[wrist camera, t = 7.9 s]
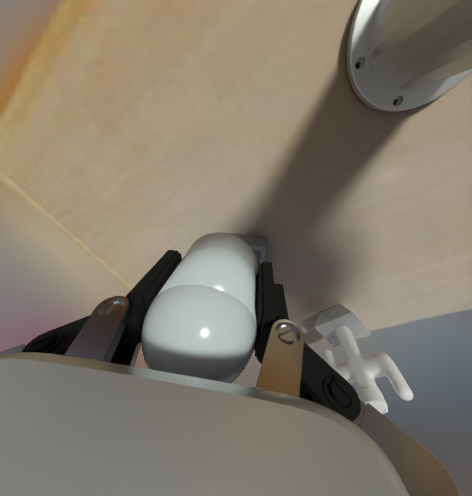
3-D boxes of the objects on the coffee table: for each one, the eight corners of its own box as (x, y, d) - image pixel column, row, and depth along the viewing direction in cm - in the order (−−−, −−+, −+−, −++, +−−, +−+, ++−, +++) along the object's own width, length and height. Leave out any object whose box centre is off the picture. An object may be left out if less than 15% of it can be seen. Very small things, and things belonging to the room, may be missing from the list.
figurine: (304, 313, 36) (327, 404, 24) (349, 294, 32) (406, 390, 20) (323, 332, 39) (353, 424, 26) (367, 315, 35) (430, 416, 22)
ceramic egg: (185, 228, 11) (87, 333, 5) (262, 237, 11) (267, 362, 5) (190, 286, 14) (129, 407, 7) (252, 295, 13) (247, 429, 7)
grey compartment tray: (220, 232, 30) (215, 241, 27) (266, 237, 29) (266, 247, 26) (220, 317, 41) (217, 330, 38) (253, 322, 40) (253, 335, 37)
